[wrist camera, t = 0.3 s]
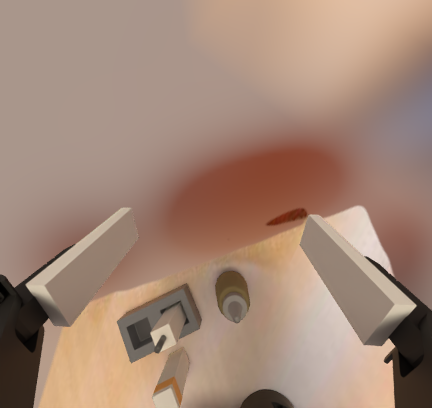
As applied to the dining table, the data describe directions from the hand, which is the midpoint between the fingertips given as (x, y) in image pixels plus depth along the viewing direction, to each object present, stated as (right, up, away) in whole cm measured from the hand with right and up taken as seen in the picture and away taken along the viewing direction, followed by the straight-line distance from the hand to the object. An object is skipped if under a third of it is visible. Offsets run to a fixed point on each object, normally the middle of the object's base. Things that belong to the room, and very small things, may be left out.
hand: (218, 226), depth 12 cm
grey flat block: (-14, -29, +31) cm, 45 cm away
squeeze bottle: (+4, -20, +32) cm, 38 cm away
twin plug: (-10, -26, +31) cm, 42 cm away
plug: (-10, -38, +30) cm, 49 cm away
